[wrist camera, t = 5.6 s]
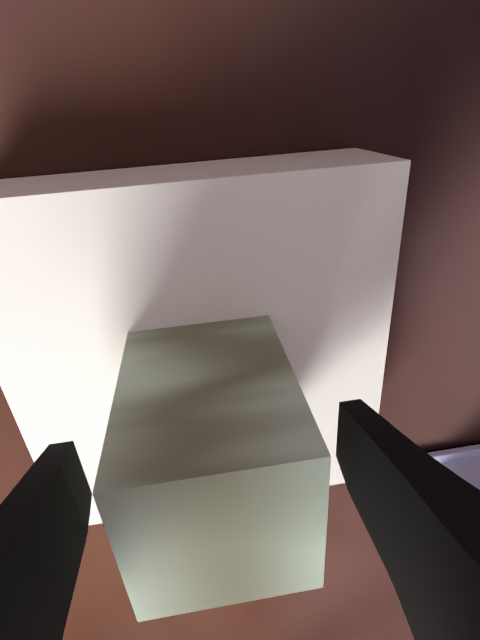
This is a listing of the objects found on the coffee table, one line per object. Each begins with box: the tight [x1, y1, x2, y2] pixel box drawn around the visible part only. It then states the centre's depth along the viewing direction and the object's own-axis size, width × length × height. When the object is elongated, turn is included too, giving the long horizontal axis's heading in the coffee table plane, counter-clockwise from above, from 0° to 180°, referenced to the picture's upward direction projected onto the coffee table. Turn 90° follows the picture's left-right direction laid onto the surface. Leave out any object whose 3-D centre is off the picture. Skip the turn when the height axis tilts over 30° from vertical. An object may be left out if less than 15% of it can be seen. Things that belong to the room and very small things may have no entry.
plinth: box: [0, 148, 411, 525], centre depth 16 cm, size 13×13×4 cm
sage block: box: [92, 315, 331, 622], centre depth 11 cm, size 4×4×6 cm
